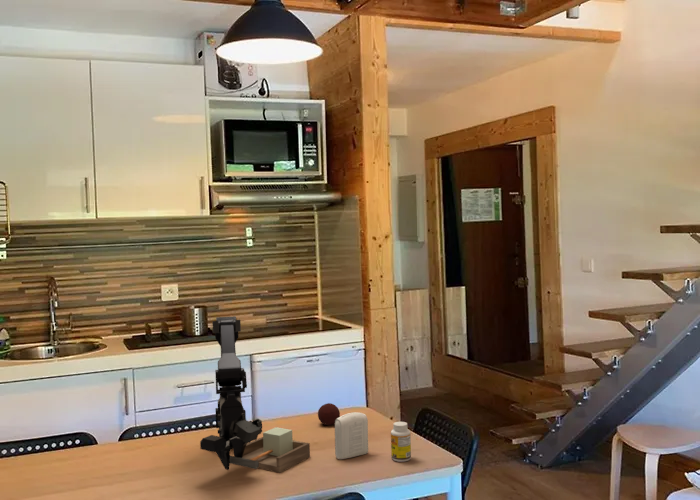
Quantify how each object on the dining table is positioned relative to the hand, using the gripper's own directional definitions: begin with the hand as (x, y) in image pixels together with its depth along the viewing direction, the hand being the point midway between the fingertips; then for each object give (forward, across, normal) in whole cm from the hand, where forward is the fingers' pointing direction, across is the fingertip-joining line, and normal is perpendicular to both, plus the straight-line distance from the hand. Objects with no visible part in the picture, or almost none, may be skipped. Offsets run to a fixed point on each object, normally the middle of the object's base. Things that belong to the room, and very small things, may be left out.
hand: (232, 466), depth 186 cm
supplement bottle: (+2, +31, -36) cm, 47 cm away
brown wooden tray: (+2, +13, -4) cm, 14 cm away
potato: (+2, +49, +2) cm, 49 cm away
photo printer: (+2, +27, -22) cm, 35 cm away
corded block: (0, +9, -4) cm, 9 cm away
